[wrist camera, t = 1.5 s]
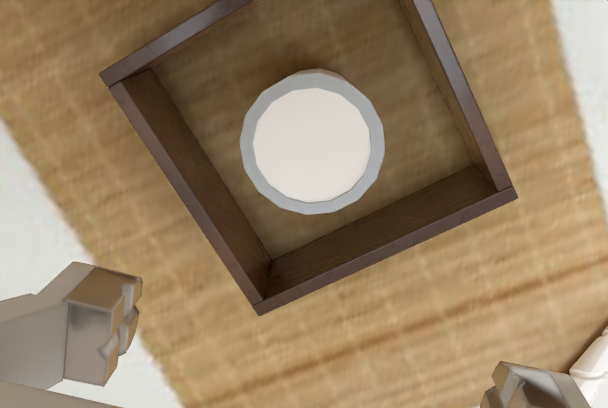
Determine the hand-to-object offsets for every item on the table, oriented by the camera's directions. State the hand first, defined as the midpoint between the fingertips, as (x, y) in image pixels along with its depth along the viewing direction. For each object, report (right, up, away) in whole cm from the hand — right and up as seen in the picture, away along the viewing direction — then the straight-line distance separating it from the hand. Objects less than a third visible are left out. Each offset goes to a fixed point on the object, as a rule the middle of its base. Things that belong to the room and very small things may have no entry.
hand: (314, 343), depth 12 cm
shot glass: (0, +8, +20) cm, 22 cm away
